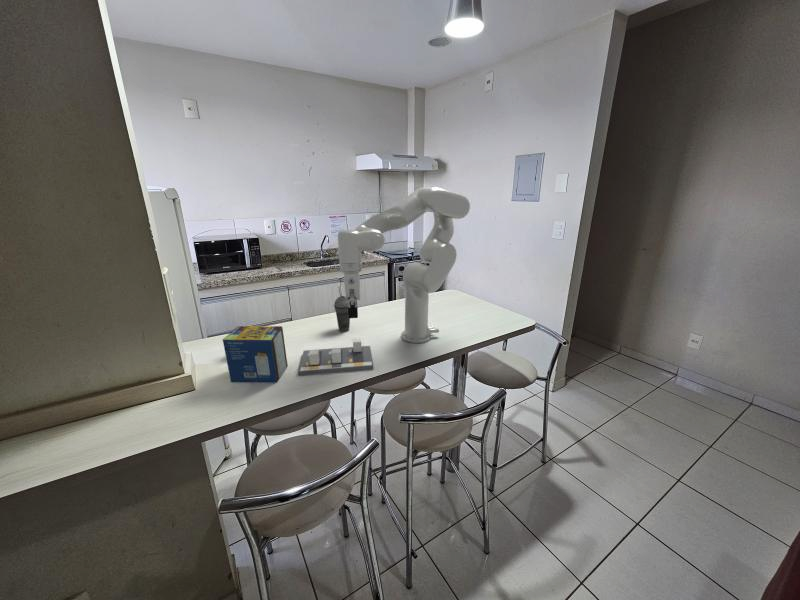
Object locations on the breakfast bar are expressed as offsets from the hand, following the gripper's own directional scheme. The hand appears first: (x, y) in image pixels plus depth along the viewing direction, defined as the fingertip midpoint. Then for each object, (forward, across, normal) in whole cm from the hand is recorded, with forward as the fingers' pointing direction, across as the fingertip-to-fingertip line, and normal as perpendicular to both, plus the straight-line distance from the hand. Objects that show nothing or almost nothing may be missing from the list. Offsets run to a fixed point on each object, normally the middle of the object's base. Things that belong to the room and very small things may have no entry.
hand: (353, 312), depth 118 cm
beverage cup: (+17, +23, +5) cm, 29 cm away
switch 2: (+15, -1, -1) cm, 15 cm away
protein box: (+17, -10, +32) cm, 37 cm away
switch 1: (+15, -8, +14) cm, 22 cm away
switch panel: (+17, -4, +7) cm, 18 cm away
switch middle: (+15, -8, +6) cm, 18 cm away
